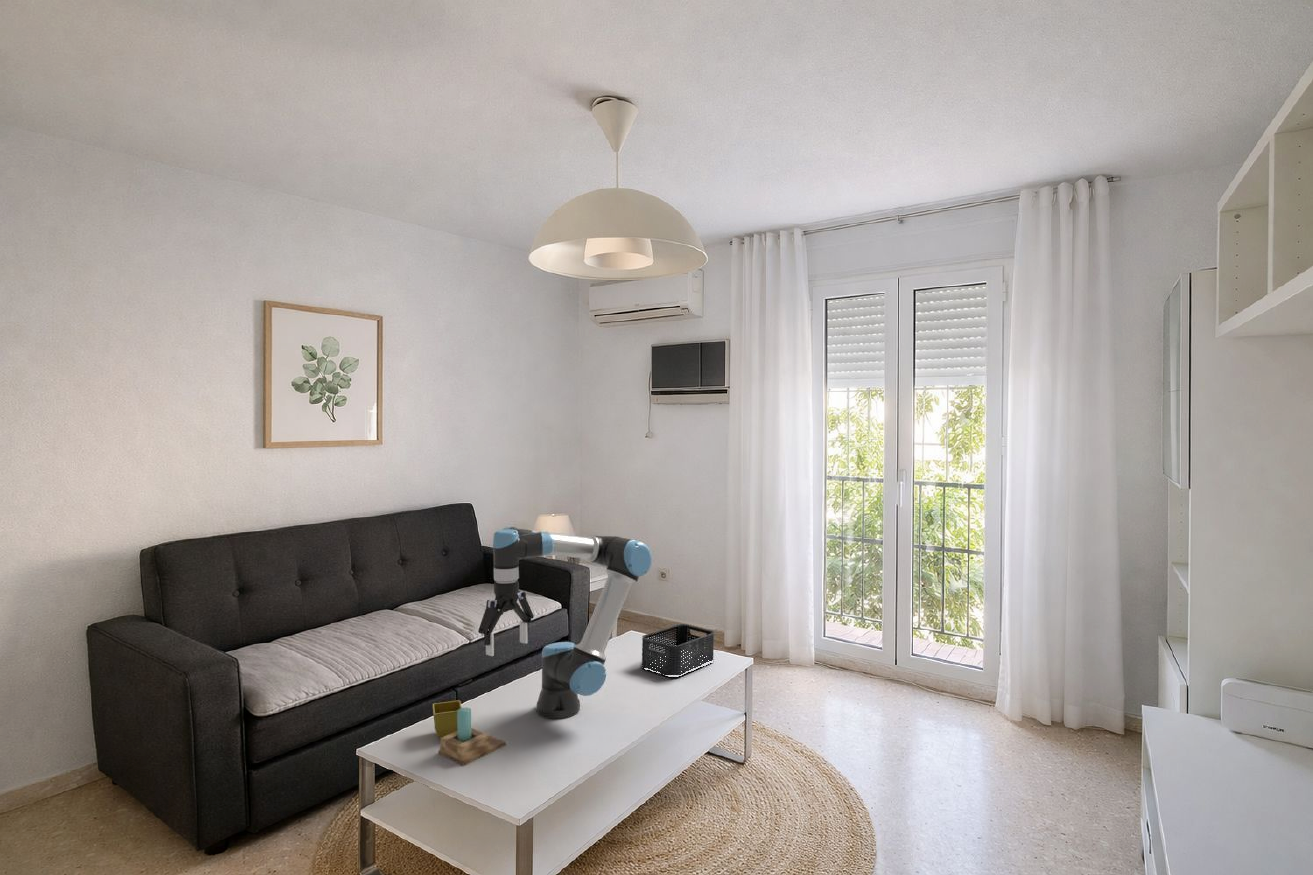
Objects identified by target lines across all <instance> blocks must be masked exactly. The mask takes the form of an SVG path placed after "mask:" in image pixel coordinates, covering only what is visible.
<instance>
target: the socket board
mask: <svg viewBox="0 0 1313 875" xmlns="http://www.w3.org/2000/svg"><path fill="white" fill-rule="evenodd" d="M506 745H507V743H506V741H505V740H502V739H499V738H498V737H495V736H492V735H489V734H487V733H484V732H482V731H480V730H477V729H474V728H473V727H471V739H470V740H468V741H466V742H461V741H459V740H458V731H456V732H454V733H451V734H449V735H447V736H444V737H442V738H440V749H439V750H438V751H437V752H438V754H439V755H440V756H443V757H445V758H448V759H449V760H452V761H454V762H456V763H458V764H461V765H462V766H466V765H468V764H470V763H472V762H475V761H476V760H478V759H480V758H482V757H484V756H487V755H489V754H491V753H493V752H495V751H496V750H499V749H501V748H502V747H504V746H506Z"/></svg>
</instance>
